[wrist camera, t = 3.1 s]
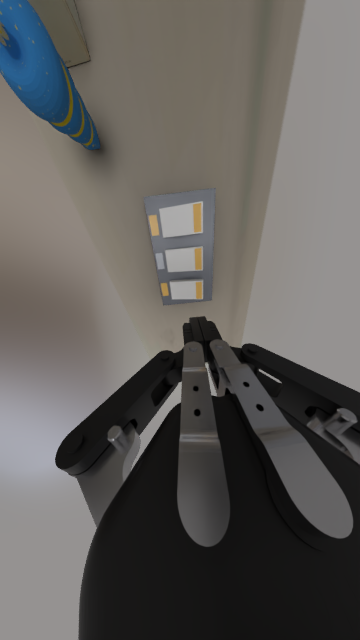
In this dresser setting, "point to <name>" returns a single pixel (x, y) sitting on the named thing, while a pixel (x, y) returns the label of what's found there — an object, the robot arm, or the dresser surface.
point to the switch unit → (182, 241)
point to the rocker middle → (184, 259)
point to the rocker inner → (182, 219)
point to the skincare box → (63, 29)
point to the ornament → (41, 73)
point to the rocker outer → (187, 289)
